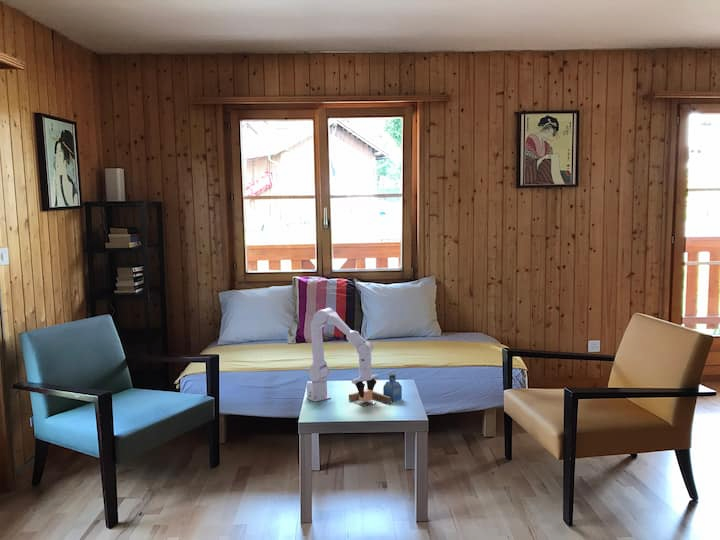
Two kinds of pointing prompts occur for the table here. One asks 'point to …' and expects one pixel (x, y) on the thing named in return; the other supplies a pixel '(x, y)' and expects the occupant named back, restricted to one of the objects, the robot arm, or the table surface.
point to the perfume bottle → (393, 388)
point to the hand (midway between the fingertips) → (365, 396)
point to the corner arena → (366, 403)
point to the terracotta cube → (366, 395)
